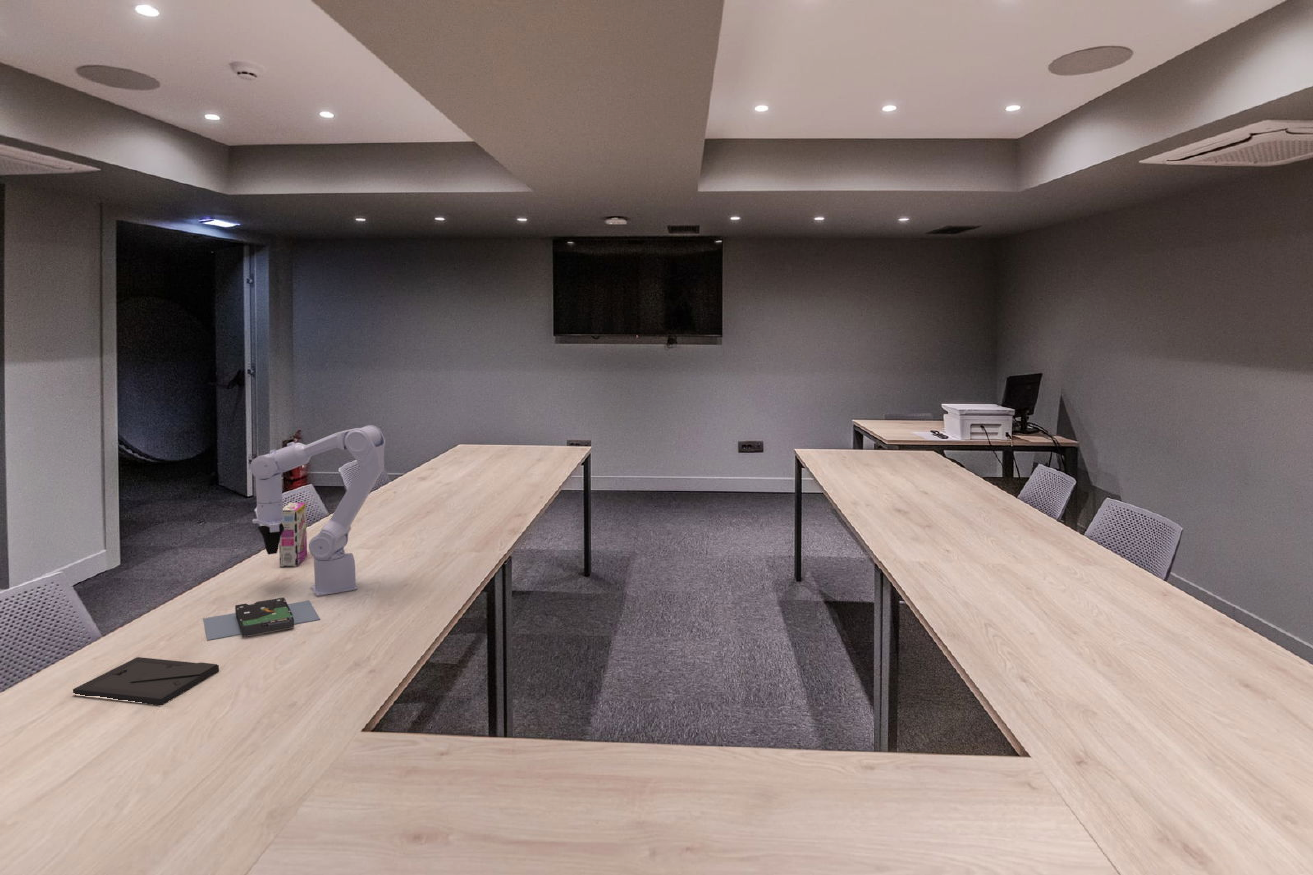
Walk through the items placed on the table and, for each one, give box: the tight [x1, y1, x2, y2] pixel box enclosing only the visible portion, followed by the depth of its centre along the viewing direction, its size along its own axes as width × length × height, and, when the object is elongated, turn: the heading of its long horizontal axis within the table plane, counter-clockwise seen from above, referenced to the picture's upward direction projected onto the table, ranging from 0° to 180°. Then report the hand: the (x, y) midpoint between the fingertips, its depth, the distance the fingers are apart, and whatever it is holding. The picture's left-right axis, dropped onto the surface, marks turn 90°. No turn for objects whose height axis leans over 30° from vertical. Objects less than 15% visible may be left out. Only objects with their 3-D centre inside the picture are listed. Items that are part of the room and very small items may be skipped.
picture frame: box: [72, 656, 220, 706], centre depth 131 cm, size 13×2×18 cm
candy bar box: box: [278, 502, 308, 568], centre depth 203 cm, size 11×5×16 cm, turn 13°
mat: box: [203, 600, 321, 642], centre depth 161 cm, size 22×14×1 cm, turn 125°
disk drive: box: [234, 597, 295, 637], centre depth 159 cm, size 10×3×15 cm
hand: (272, 553), depth 180 cm, fingers closed
